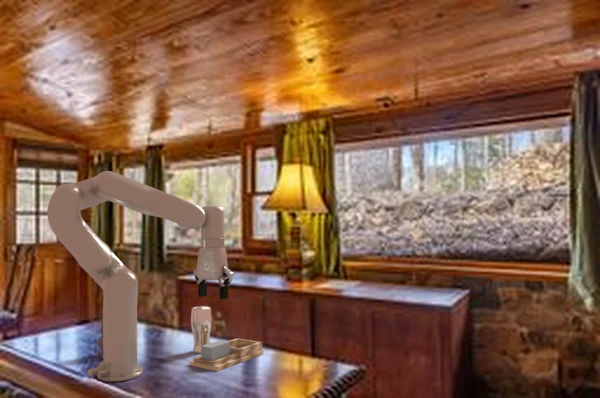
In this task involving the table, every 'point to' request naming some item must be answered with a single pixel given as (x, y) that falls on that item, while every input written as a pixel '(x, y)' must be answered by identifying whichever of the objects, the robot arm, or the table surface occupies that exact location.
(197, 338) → the beer glass
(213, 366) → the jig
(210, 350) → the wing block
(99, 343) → the cat figurine
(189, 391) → the table surface
